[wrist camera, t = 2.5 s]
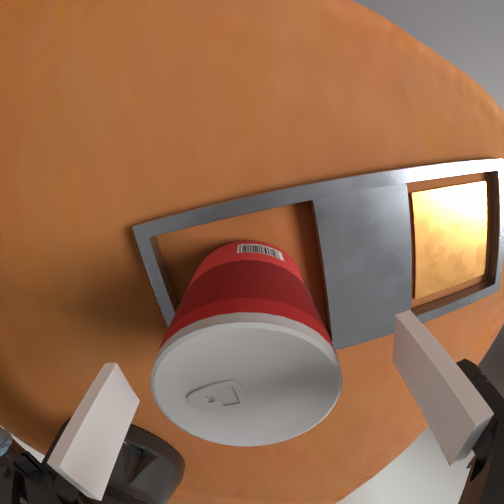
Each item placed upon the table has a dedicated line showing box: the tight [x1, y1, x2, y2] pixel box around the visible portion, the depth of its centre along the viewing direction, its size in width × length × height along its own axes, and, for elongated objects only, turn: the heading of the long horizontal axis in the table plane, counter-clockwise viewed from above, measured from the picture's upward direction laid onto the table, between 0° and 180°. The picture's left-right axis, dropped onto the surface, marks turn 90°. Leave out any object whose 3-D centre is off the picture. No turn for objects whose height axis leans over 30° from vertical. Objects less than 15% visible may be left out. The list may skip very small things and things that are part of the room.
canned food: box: [151, 241, 342, 446], centre depth 15 cm, size 8×8×11 cm
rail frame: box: [132, 158, 504, 350], centre depth 20 cm, size 31×13×1 cm, turn 103°
